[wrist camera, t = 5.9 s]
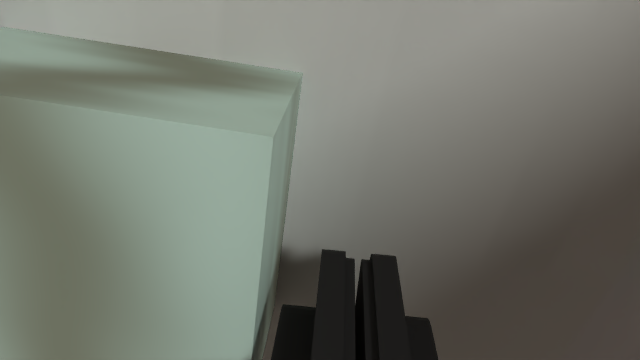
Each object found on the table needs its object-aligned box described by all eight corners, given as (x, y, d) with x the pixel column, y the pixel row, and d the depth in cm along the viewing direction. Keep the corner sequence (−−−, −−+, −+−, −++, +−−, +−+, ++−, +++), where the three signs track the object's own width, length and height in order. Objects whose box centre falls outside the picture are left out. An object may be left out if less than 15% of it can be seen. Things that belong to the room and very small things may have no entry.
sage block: (303, 71, 11) (273, 137, 7) (275, 301, 14) (243, 442, 10) (9, 25, 11) (-199, 64, 7) (47, 265, 14) (-81, 391, 10)
